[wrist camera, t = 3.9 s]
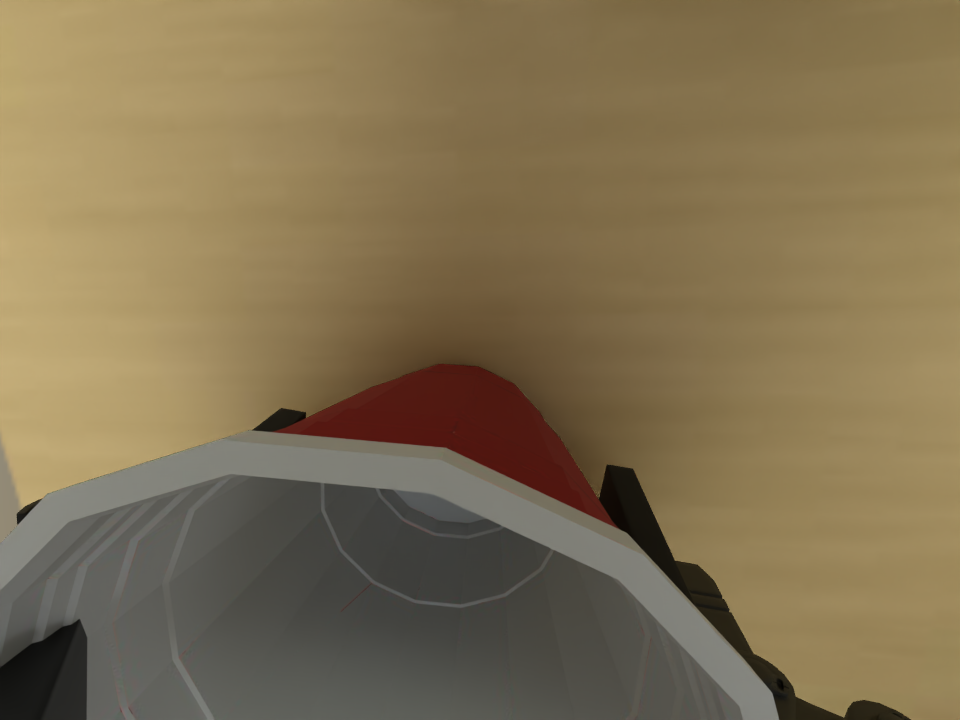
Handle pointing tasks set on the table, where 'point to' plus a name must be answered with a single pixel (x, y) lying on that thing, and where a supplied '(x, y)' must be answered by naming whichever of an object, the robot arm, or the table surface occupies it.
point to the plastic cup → (368, 576)
